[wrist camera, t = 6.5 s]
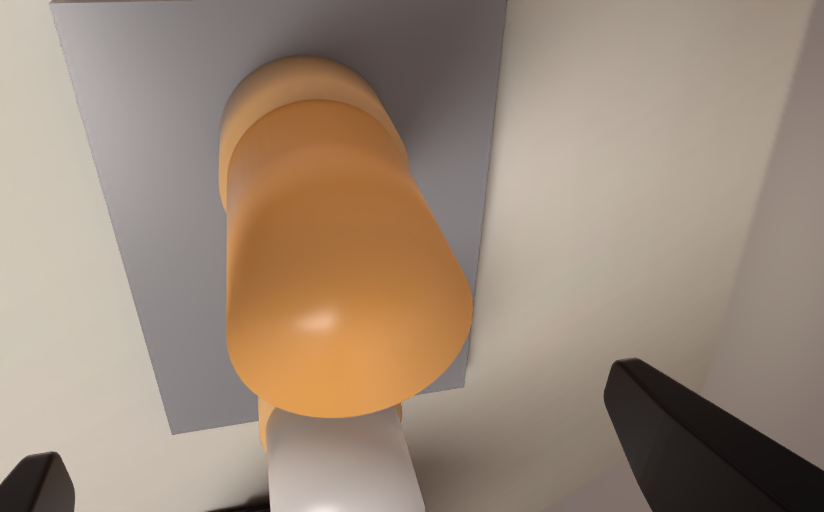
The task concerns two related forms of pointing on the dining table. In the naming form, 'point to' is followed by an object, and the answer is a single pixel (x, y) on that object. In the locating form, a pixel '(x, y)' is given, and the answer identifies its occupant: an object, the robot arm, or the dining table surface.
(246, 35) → the junction plate
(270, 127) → the orange capsule
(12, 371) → the dining table surface
